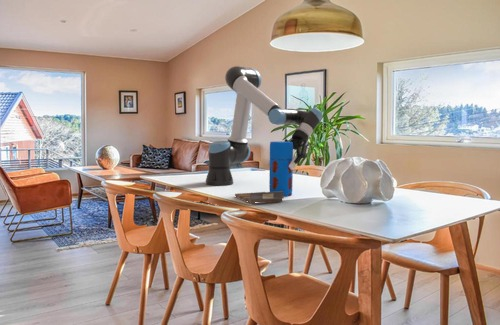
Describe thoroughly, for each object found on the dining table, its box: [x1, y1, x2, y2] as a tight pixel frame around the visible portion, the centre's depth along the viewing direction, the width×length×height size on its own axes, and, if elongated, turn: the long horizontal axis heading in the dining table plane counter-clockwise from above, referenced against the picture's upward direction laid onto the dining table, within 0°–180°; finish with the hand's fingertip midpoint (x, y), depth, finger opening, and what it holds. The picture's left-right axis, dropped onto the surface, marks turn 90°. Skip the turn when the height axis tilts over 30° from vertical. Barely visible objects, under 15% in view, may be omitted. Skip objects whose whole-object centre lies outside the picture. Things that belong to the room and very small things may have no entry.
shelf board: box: [234, 191, 284, 204], centre depth 195 cm, size 19×15×4 cm
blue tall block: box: [268, 141, 294, 197], centre depth 207 cm, size 11×11×25 cm
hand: (279, 167), depth 206 cm, fingers open, 13 cm apart
